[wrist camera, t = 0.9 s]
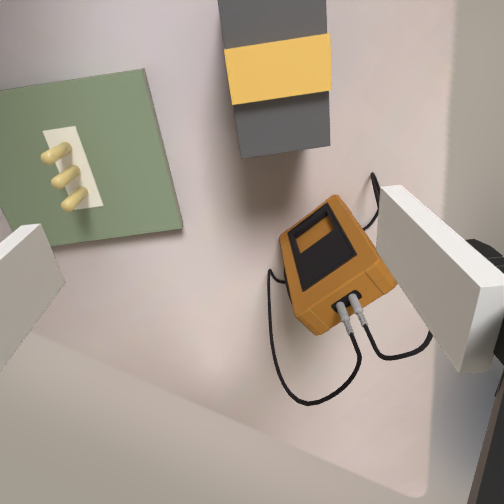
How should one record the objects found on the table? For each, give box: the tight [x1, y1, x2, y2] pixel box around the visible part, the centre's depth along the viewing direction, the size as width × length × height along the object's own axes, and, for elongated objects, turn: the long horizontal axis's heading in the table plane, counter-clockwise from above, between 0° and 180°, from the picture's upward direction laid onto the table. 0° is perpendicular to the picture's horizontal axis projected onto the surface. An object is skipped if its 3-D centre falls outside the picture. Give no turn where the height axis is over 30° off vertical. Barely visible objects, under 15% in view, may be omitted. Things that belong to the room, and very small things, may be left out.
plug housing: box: [218, 0, 332, 159], centre depth 26 cm, size 10×6×10 cm, turn 8°
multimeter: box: [267, 172, 433, 406], centre depth 30 cm, size 15×10×20 cm
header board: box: [0, 68, 183, 246], centre depth 32 cm, size 14×16×5 cm
